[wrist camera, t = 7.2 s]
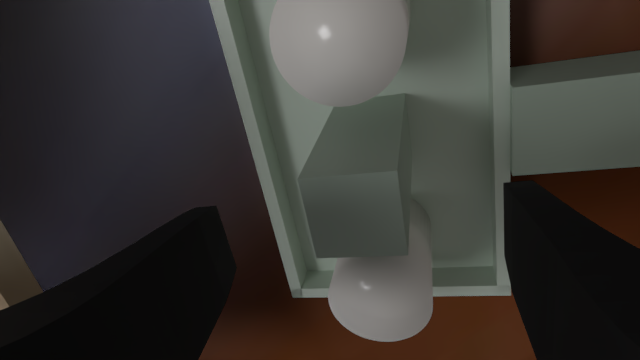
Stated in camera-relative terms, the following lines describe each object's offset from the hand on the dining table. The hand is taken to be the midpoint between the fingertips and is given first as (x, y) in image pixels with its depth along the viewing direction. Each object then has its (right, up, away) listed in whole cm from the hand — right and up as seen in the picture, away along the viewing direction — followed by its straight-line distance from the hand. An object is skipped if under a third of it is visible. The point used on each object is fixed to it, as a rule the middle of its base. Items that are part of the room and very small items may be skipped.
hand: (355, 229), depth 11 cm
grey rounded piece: (+2, -1, +7) cm, 8 cm away
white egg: (0, +7, +4) cm, 8 cm away
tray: (+3, +4, +5) cm, 7 cm away
